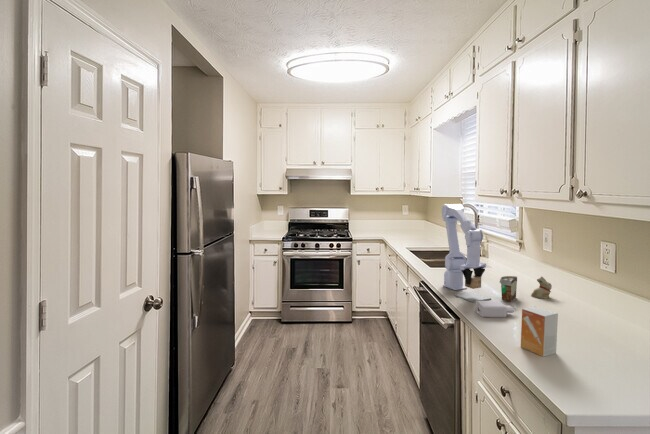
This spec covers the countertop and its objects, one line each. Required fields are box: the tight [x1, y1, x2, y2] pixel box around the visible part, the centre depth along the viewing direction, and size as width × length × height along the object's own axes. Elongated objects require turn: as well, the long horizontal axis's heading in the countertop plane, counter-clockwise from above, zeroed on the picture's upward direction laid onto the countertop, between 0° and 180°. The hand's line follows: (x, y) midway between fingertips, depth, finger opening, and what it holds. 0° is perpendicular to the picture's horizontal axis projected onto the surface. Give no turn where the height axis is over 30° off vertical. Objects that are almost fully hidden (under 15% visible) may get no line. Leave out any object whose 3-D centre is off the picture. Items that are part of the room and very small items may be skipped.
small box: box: [520, 305, 559, 358], centre depth 119 cm, size 8×6×13 cm
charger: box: [475, 300, 518, 318], centre depth 154 cm, size 5×9×15 cm
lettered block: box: [464, 274, 482, 289], centre depth 177 cm, size 5×5×5 cm
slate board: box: [454, 291, 492, 303], centre depth 178 cm, size 12×11×1 cm
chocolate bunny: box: [530, 275, 553, 299], centre depth 178 cm, size 6×8×10 cm
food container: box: [499, 275, 518, 303], centre depth 175 cm, size 12×6×10 cm, turn 141°
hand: (472, 283), depth 177 cm, fingers closed on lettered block, 5 cm apart
